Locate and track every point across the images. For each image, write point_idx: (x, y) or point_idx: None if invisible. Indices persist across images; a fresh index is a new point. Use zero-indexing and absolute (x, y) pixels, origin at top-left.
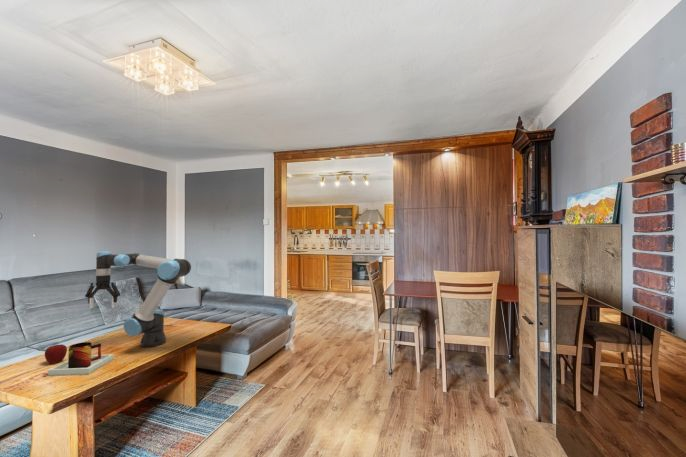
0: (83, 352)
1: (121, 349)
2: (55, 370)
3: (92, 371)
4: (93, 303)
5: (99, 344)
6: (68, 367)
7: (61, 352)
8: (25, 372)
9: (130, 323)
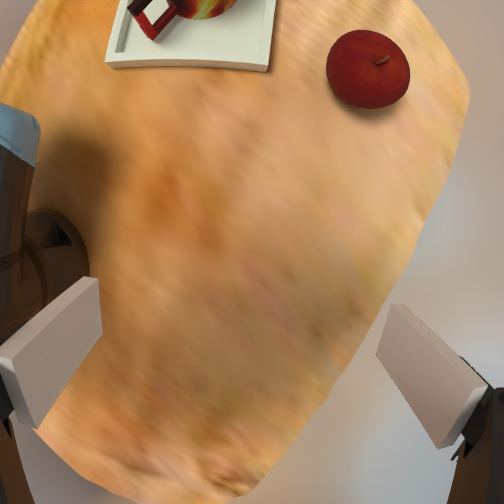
0: None
1: (138, 198)
2: None
3: None
4: (398, 382)
5: (132, 3)
6: None
7: (333, 45)
8: (384, 13)
9: None
